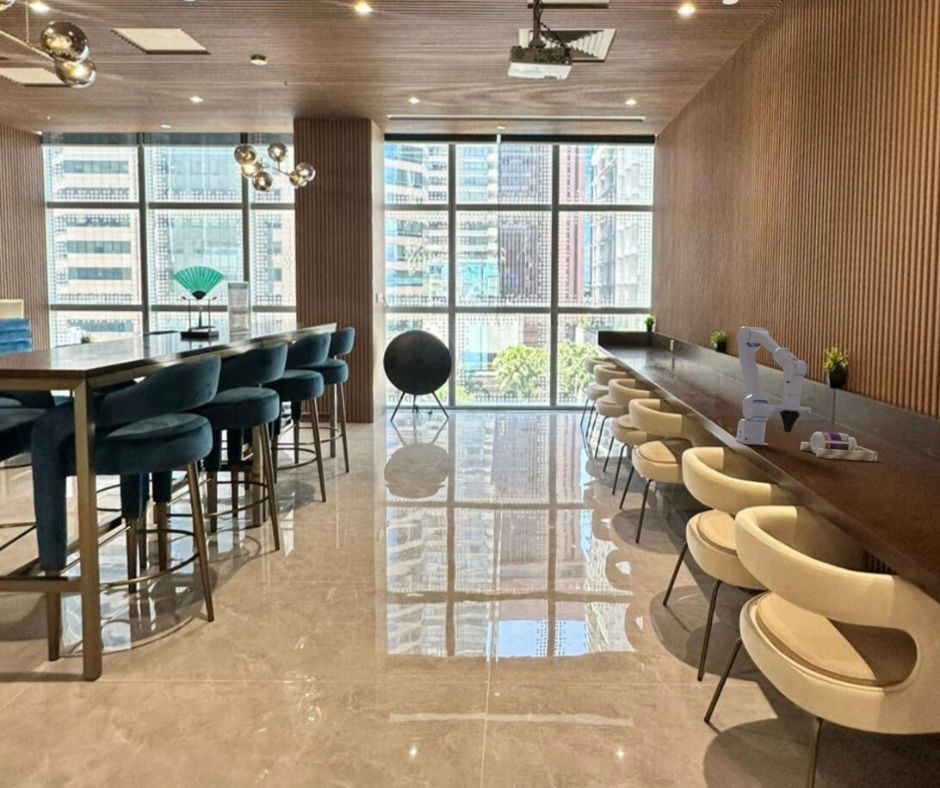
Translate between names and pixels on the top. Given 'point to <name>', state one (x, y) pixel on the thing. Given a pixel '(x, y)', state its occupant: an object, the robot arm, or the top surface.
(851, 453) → the cradle
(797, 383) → the robot arm
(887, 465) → the top surface
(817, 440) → the pill bottle
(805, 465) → the top surface
